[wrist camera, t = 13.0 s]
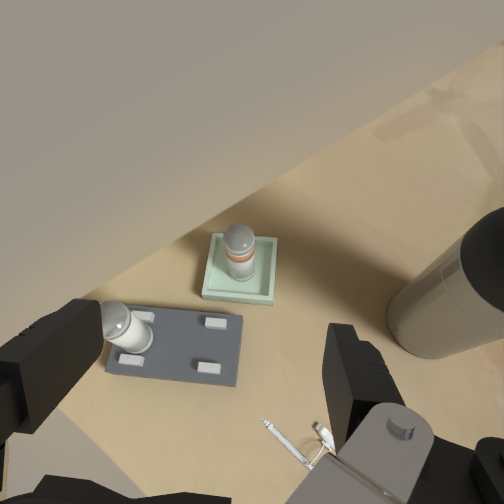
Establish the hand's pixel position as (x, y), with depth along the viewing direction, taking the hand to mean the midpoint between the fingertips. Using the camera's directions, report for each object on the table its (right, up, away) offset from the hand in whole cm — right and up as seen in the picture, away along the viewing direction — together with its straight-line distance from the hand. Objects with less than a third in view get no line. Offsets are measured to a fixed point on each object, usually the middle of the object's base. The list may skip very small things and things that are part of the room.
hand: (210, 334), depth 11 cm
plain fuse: (-12, -7, +28) cm, 31 cm away
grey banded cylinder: (0, 0, +34) cm, 34 cm away
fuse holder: (-8, -9, +30) cm, 32 cm away
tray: (0, 0, +34) cm, 34 cm away
